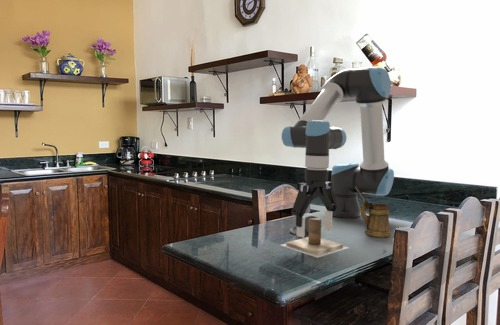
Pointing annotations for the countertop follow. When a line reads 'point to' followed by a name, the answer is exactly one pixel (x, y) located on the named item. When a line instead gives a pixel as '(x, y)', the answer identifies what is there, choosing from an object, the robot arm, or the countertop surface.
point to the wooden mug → (375, 218)
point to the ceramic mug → (307, 217)
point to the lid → (314, 240)
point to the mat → (313, 254)
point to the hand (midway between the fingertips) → (314, 233)
